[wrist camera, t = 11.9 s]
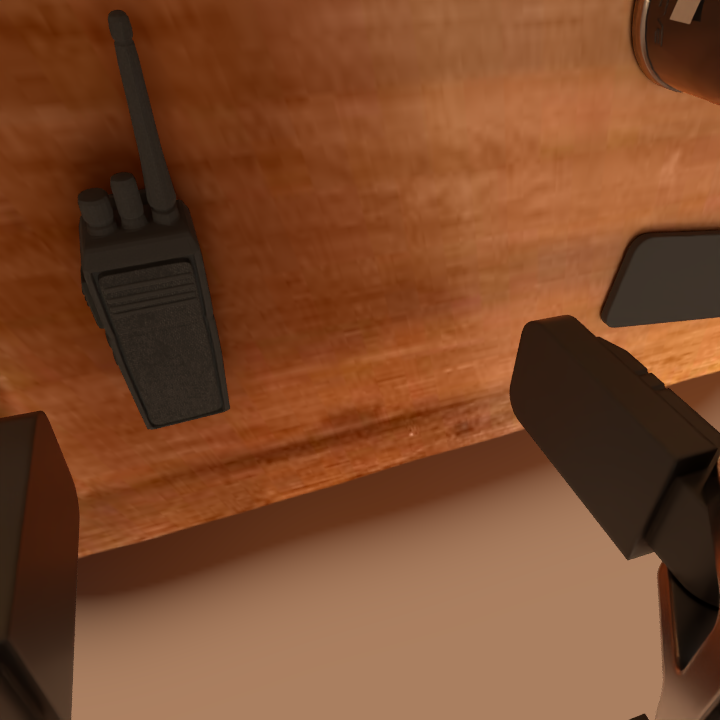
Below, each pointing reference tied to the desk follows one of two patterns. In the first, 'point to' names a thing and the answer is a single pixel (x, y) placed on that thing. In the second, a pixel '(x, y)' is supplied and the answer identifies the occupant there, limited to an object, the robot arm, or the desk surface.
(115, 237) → the walkie-talkie
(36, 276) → the desk surface
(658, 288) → the phone
